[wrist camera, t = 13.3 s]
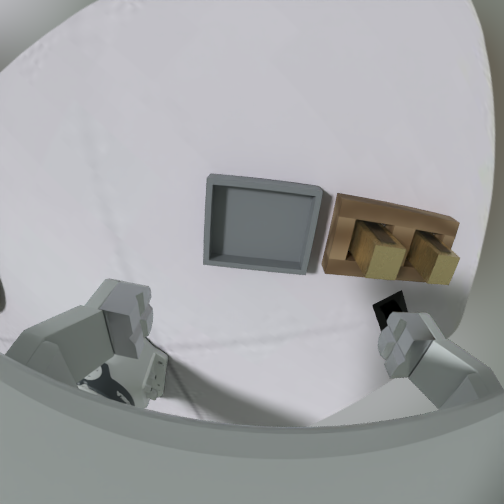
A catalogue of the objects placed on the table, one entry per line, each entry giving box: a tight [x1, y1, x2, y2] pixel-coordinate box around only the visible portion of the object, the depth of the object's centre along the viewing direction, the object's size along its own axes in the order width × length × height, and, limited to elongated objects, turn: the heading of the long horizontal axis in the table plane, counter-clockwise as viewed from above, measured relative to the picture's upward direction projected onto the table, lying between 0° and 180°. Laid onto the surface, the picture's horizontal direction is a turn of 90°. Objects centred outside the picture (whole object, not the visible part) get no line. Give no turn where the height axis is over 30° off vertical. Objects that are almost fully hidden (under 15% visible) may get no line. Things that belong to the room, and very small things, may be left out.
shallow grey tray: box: [203, 174, 323, 275], centre depth 34 cm, size 11×13×2 cm
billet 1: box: [348, 219, 406, 280], centre depth 31 cm, size 4×4×8 cm
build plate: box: [373, 290, 408, 332], centre depth 40 cm, size 12×7×5 cm, turn 31°
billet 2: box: [406, 229, 460, 285], centre depth 32 cm, size 4×4×8 cm
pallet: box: [322, 193, 460, 282], centre depth 34 cm, size 10×19×2 cm, turn 84°
